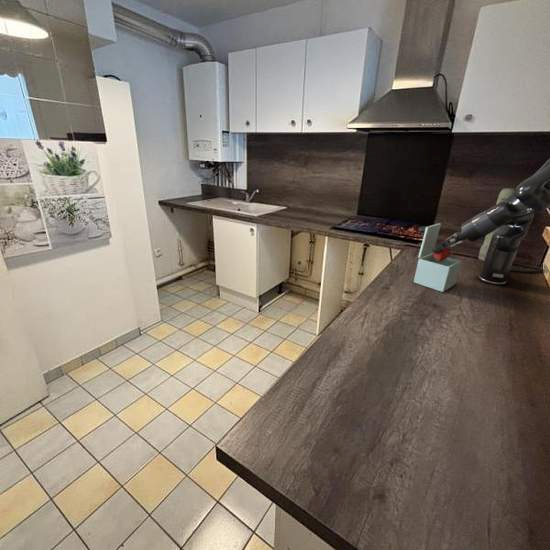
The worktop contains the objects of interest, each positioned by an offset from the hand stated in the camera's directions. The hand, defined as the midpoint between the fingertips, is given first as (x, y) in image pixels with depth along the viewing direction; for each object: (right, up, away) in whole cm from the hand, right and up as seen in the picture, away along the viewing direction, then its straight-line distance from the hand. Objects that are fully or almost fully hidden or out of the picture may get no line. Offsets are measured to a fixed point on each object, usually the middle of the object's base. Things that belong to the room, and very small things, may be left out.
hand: (436, 250), depth 114 cm
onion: (+1, -5, +1) cm, 5 cm away
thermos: (+45, -2, +34) cm, 56 cm away
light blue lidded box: (+2, -13, +6) cm, 14 cm away
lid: (-1, +4, +3) cm, 5 cm away
